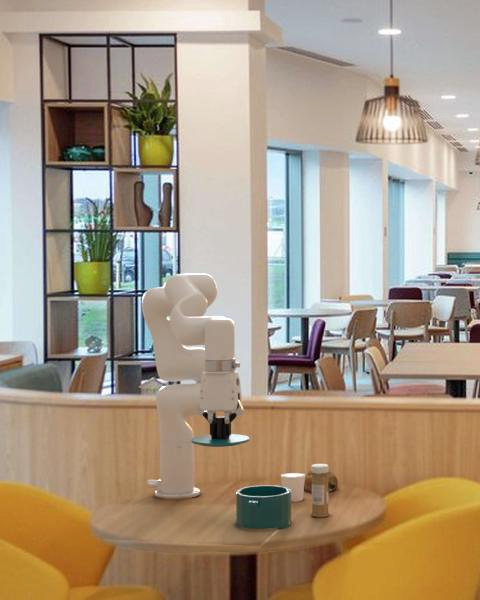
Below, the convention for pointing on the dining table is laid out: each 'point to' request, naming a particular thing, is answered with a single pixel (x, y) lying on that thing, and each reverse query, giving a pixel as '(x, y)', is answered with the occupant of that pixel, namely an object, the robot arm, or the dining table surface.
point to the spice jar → (320, 490)
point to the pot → (263, 507)
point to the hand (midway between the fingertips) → (220, 437)
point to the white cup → (294, 485)
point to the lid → (220, 437)
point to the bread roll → (331, 481)
